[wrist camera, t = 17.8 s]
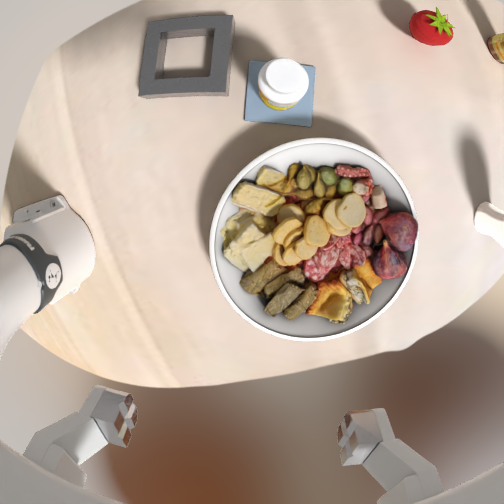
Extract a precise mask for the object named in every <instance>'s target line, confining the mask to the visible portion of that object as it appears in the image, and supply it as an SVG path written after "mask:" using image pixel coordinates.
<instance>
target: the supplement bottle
mask: <svg viewBox="0 0 504 504" xmlns="http://www.w3.org/2000/svg"><path fill="white" fill-rule="evenodd" d="M308 86H309V78H308V75H307V72H306V71H305V69H304V68H303V67H302V66H301V65H300V64H299V63H298V62H296V61H294V60H291V59H287V58H277V59H273V60H271V61H269V62H267V63H266V64H265V65H264V66H263V67H262V68H261V70H260V72H259V75H258V87H259V95H260V98H261V100H262V102H263V103H264V104H265V105H266V106H267V107H269V108H271V109H273V110H277V111H284V110H288V109H291V108H292V107H294V106H295V105H296V104H297V103H298V102H299V101H300V99H301V98H302V97H303V96H304V95H305V93H306V91H307V89H308Z"/></svg>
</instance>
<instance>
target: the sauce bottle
mask: <svg viewBox="0 0 504 504" xmlns="http://www.w3.org/2000/svg"><path fill="white" fill-rule="evenodd" d="M488 46H489V49H490V52H491V53H492V55H493V57H494V58H495V59H496V60H497V61H498V62H499V63H501V64H504V33H502V34H498V35H494V36H492V37H490V38H489V39H488Z"/></svg>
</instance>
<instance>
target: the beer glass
mask: <svg viewBox="0 0 504 504" xmlns="http://www.w3.org/2000/svg"><path fill="white" fill-rule="evenodd" d="M474 224H475V228H476V230H477V231H478V232H479V233H481V234H485V235H489V236H491V237H492V238H494V239H495V240H496V241H497V242H498V243H499V244H500V245H501V246H502V247H503V248H504V210H501V209H498V208H496V207H495V206H494V205H492V204H491V203H489V202H483V203H481V204H480V205H479V206H478V208H477V210H476V213H475V217H474Z"/></svg>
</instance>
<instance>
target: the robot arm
mask: <svg viewBox="0 0 504 504" xmlns="http://www.w3.org/2000/svg"><path fill="white" fill-rule="evenodd" d="M54 202H55V203H54ZM95 259H96V253H95V246H94V241H93V238H92V236H91V233H90V231H89V229H88V227H87V226H86V224H85V223H84V221H83V220H82V219H81V218H80V217H79V216H78V215H77V214H76V213H75V212H73V211H72V210H71V209H70V207H69V205H68V203H67V202H66V200H65V198H64V197H63V196H62V195H58V196H55V197H52V198H49V199H46V200H43V201H40V202H37V203H34V204H31V205H28V206H26V207H23V208H20V209H18V210H16V211H15V213H14V217H13V224H12V225H10V226H8V227H7V228H6V230H5V233H4V241H3V243H2V244H1V245H0V360H1V357H2V354H3V352H4V349H5V347H6V345H7V344H8V342H9V340H10V339H11V337H12V336H13V335H14V334H15V332H16V331H17V330H18V329H19V328H20V327H21V326H22V325H23V323H24V322H25V321H26V320H27V319H28V318H29V317H30V316H31V315H32V314H36V313H38V312H39V311H41V310H43V309H44V308H45V307H46V306H47V304H49V303H50V304H53V303H55V302H56V301H58V300H59V299H61V298H62V297H63V296H65V295H66V294H67V293H71V294H74V293H76V292H77V291H78V289H79V287H80V284H81V283H82V282H83V281H84V280H85V279H87V278H88V277H89V276H90V274H91V273H92V271H93V269H94V265H95ZM132 402H133V397H132V395H131V394H129V393H125V392H121V391H118V390H114V389H110V388H107V387H104V386H101V385H95V386H94V387H93V389H92V390H91V392H90V394H89V396H88V397H87V399H86V401H85V403H84V404H83V406H82V408H81V410H80V412H79V413H78V412H75V413H73V414H71V415H69V416H67V417H65V418H63V419H61V420H59V421H58V422H56V423H54V424H52V425H50V426H48V427H46V428H44V429H42V430H40V431H38V432H36V433H35V434H34V436H33V438H32V439H31V441H30V443H29V445H28V446H27V448H26V450H25V452H24V454H23V455H21V454H20V453H18V452H17V451H15V450H14V449H12V448H11V447H9V446H8V445H6V444H5V443H4V442H2V441H1V440H0V504H124V503H121V502H118V501H115V500H113V499H110V498H107V497H104V496H102V495H99V494H97V493H94V492H92V491H90V490H87V489H85V488H83V486H84V483H85V481H86V478H87V475H86V473H85V472H84V471H83V470H82V469H81V468H80V467H79V465H80V464H81V463H82V462H84V461H85V460H87V459H88V458H89V457H91V456H92V455H93V454H95V453H96V452H97V451H99V450H100V449H101V448H103V447H104V446H105V445H107V444H108V442H109V443H112V444H116V445H119V446H123V447H126V448H127V446H128V443H129V441H130V438H131V433H130V429H132V428H134V427H135V424H136V422H137V415H138V413H137V408H136V406H135V405H134V404H133V403H132ZM337 439H338V444H339V445H340V446H341V447H343V448H342V450H341V452H340V455H341V460H342V466H345V465H354V464H362V465H363V466H364V467H365V468H366V469H367V471H368V472H369V473H370V474H371V475H372V476H373V477H374V478H375V479H376V480H377V481H378V482H379V483H380V484H381V486H383V488H384V489H385V490H386V491H387V493H386V494H384V495H383V496H382V497H380V499H378V501H377V504H504V462H502V463H499V464H498V465H496V466H494V467H492V468H491V469H489V470H487V471H485V472H484V473H482V474H480V475H478V476H476V477H474V478H472V479H470V480H468V481H466V482H464V483H462V484H460V485H458V486H456V487H453V488H451V489H449V490H447V491H444V489H443V486H442V483H441V480H440V477H439V474H438V471H437V469H436V467H435V466H434V465H432V464H431V463H430V462H428V461H427V460H426V459H424V458H423V457H422V456H420V455H419V454H417V453H416V452H415V451H414V450H413V449H411V448H410V447H409V446H407V445H406V444H405V443H403V442H402V441H401V440H400V439H395V437H394V433H393V431H392V428H391V425H390V422H389V419H388V417H387V414H386V411H385V410H384V409H383V408H378V409H368V410H358V411H348V412H347V413H346V414H345V415H344V421H343V422H341V423H340V425H339V427H338V432H337Z"/></svg>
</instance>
